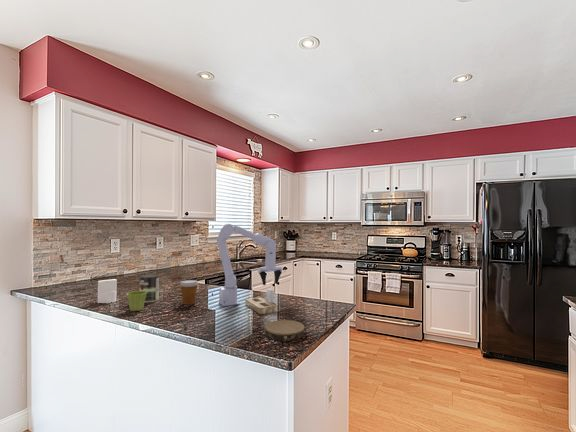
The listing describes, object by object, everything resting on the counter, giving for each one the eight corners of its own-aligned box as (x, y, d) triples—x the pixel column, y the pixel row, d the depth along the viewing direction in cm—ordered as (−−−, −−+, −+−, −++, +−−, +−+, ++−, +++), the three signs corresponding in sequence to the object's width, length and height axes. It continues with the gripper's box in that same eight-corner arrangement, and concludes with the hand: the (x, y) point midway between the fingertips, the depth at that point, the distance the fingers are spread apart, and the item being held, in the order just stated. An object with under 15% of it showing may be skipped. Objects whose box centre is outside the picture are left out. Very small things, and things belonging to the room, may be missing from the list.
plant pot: (121, 311, 149) (122, 293, 149) (137, 306, 158) (137, 290, 158) (135, 313, 146) (136, 295, 146) (150, 308, 155) (151, 291, 155)
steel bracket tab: (270, 303, 166) (270, 290, 166) (266, 301, 170) (266, 288, 171) (273, 302, 167) (273, 290, 167) (269, 300, 171) (269, 288, 172)
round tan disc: (309, 330, 124) (309, 323, 124) (295, 344, 109) (295, 336, 109) (275, 325, 130) (275, 318, 130) (257, 337, 116) (257, 330, 116)
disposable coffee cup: (187, 306, 159) (187, 283, 159) (176, 303, 164) (176, 281, 164) (201, 302, 167) (201, 280, 167) (190, 300, 172) (190, 279, 172)
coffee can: (148, 303, 164) (148, 277, 165) (134, 301, 168) (135, 276, 169) (162, 299, 174) (163, 274, 174) (149, 297, 178) (149, 273, 178)
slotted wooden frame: (260, 314, 145) (260, 308, 145) (245, 304, 162) (245, 299, 163) (276, 311, 149) (276, 305, 149) (260, 302, 167) (260, 297, 167)
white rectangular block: (99, 304, 162) (99, 282, 162) (96, 301, 168) (96, 280, 169) (117, 301, 168) (118, 280, 168) (114, 298, 174) (114, 278, 175)
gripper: (261, 261, 162) (261, 286, 162) (285, 260, 170) (284, 284, 169) (256, 260, 169) (256, 284, 168) (279, 259, 176) (279, 282, 175)
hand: (270, 284), depth 169 cm, fingers open, 7 cm apart
